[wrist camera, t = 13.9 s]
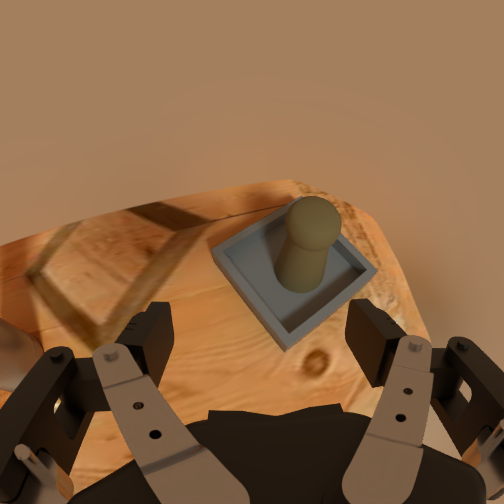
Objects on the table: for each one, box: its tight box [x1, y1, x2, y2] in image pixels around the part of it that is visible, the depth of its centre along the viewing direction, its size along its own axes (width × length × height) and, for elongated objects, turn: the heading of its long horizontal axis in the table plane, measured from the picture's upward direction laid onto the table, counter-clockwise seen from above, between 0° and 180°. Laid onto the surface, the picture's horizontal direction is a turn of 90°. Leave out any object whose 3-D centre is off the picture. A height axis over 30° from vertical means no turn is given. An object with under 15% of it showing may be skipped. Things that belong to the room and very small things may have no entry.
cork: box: [275, 196, 342, 293], centre depth 28 cm, size 6×6×11 cm
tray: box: [211, 196, 378, 352], centre depth 32 cm, size 14×14×3 cm
